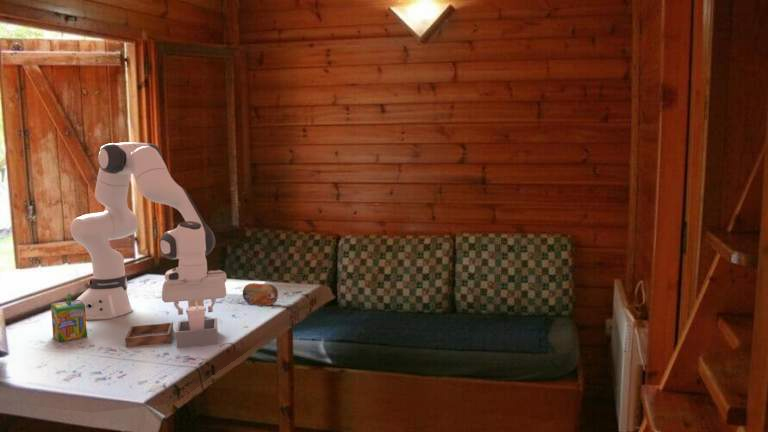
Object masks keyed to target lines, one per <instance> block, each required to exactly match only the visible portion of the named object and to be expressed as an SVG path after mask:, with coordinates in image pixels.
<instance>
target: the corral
mask: <svg viewBox="0 0 768 432" xmlns="http://www.w3.org/2000/svg"><path fill="white" fill-rule="evenodd" d="M152 333H153V334H152ZM173 334H174V323H173V322H163V323H153V324H151V323H150V324H141V325H131V326H130V328H129V330H128V332H127V334H126V336H125V338H124V339H125V348H132V347H143V346H144V347H145V346H154V345H165V344H171V341H172V337H173Z"/></svg>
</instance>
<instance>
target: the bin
mask: <svg viewBox="0 0 768 432" xmlns="http://www.w3.org/2000/svg"><path fill="white" fill-rule="evenodd" d="M218 334H219V329H218V318H217V317H215V318H205V319H204V329H201V330H190V326H189V321H188V320H182V321H179V320H178V321H177V325H176V330H175V342H176V344H175V346H176V348H177V349H178V348H189V347H197V346H207V345H208V346H209V345H218V341H219V340H218V336H219V335H218Z"/></svg>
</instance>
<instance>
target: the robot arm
mask: <svg viewBox="0 0 768 432" xmlns="http://www.w3.org/2000/svg"><path fill="white" fill-rule="evenodd" d="M97 163H98V166H99V170H98V173H97V179H96V183H95V185H96V186H95V190H94V197H95V199H96V201H97V202H98V203H99V204H101V206H104V210H103V211H100V212H94V213H93V212H92V213H86V214H83V215H80V216H78V217H76V218H73V220H72V222H71V224H70V227H69V230H70V235H71V237H72V238H73V239H74V241H75V242H77V243H78V244H80V245H81V246H83V247H84V248H85V250H86V251H87V252H88V254H89V256H90V260H91V265H92V273H93V276H91V277H89V278H88V282H87V285H88V287H89V288H88V289H86V290H85V291H84V292H83V293H82V294H81V295H79V296H78V297H77V298H76V299H75V300H80V301H81V302H82V303H83V304H85V314H86V321H89V320H91V321H92V320H109V319H114V318H115V317H119V316H123V315H126V314H129V313H131V312H132V311H133V308H132V306H131V303H130V299H129V295H128V278H127V275H126V271H125V261H124V260H125V259H124V256H123V254H122V253H121V252H120V251H118V250H116V249H113V248H112V246H111V244H110V241H114V240H120V239H124V238H127V237H130V236H132V235H134V234H136V232H137V230H138V228H139V219H138V217H137V215H136V214H135V213H134V212H133V211H132V210H131V209H130V208H129V206H128V194H129V186H130V182H131V175H133V177H134V179H135V182H136V185H137V188H138V190H139V192H140V194H141V195H142V196H143V197H144V198H145V199H146V200H148V201H150V202H153V203H157V204H161V205H166V206H169V207H171V208H174V209H175V210H178V212H179V213H180V214H181V216H182V218H183V219H184V221H181V222H179V224H177V227H176V228H174V229H172V230H171V229H170V230H168V231H166V232H164V233H162V235H161V236H160V240H159V252H160V253H161V255H162V256H164V257H165V258H166V259H168V260H178V266H177V267H174V268H171V269H169V270H166V272H165V273H164V282H163V284H162V290H161V300H162V301H163V303H173V305H174V307H175V309H176V310H177V315H178V316H181V315H184V307H180V305H179V303H180V302H188V301H192V300H210V302H211V303H210V305H208V306H207V313H213V312H214V311H213V310H214V308H213V307H214V305H215V304H216V301H217V300H218V299H225V297H226V296H227V288H226V282H227V280H228V278H227V273H226V272H225V271H223V270H221V269H217V270H208V261H207V258H206V256H208V255H209V254H210V253H211V252H212V251H213V249H214V248H215V245H216V236H215V235H214V232H213V231H212V230H211V228H210V227H209V226H208V224H207V223H206V221H205V220H204V218H203V216H202V215H201V214H200V212H199V210H198V208H197V206H196V204H195V203H194V201H193V200H192V198H191V196H190V194H189V193H188V192H187V190H186V189H185V188H183V187H182V186H180V185H179V184H178V183H177V182H176V181H175V180H174V179H173V178H172V176H171V174H170V173H169V170H168V168H167V165H166V163H165V161H164V160H163V155H162V151H161V149H160V148H159V146H158V145H157V144H154V143H149V142H137V141H135V142H133V141H132V142H131V141H129V142H118V143H115V142H112V143H106V144H104V145H102V146H101V147H100V149H99V150H98V152H97Z"/></svg>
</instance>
